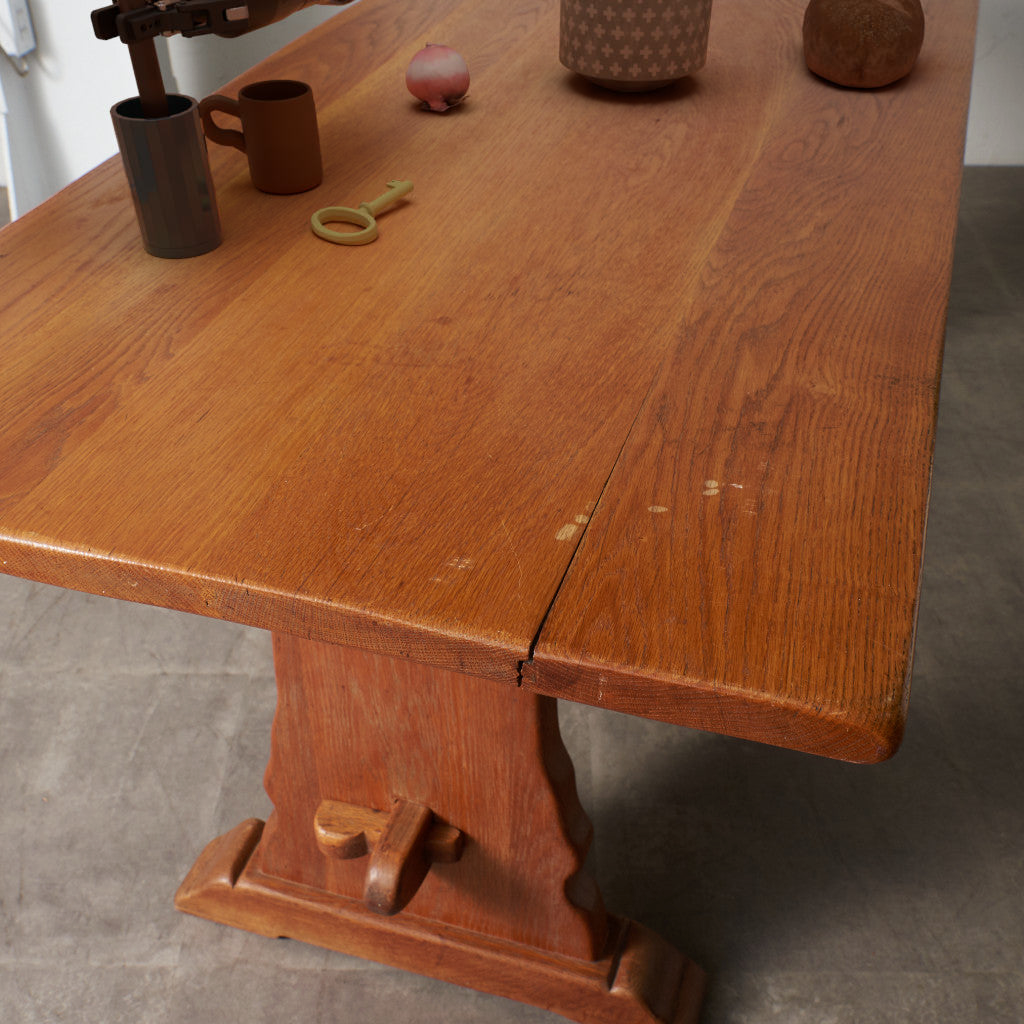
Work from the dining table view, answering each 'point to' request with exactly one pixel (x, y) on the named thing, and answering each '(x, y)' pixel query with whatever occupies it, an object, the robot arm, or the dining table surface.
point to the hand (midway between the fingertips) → (109, 28)
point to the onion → (438, 76)
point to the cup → (169, 177)
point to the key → (359, 216)
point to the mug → (271, 133)
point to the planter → (634, 41)
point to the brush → (146, 70)
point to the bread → (863, 40)
